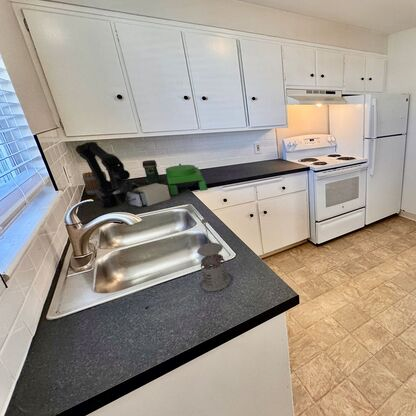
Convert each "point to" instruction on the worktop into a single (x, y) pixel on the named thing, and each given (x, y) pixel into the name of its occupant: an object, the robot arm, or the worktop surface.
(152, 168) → the coffee jar
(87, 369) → the worktop surface
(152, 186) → the grey box
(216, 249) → the french press
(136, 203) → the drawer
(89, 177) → the mug
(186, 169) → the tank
